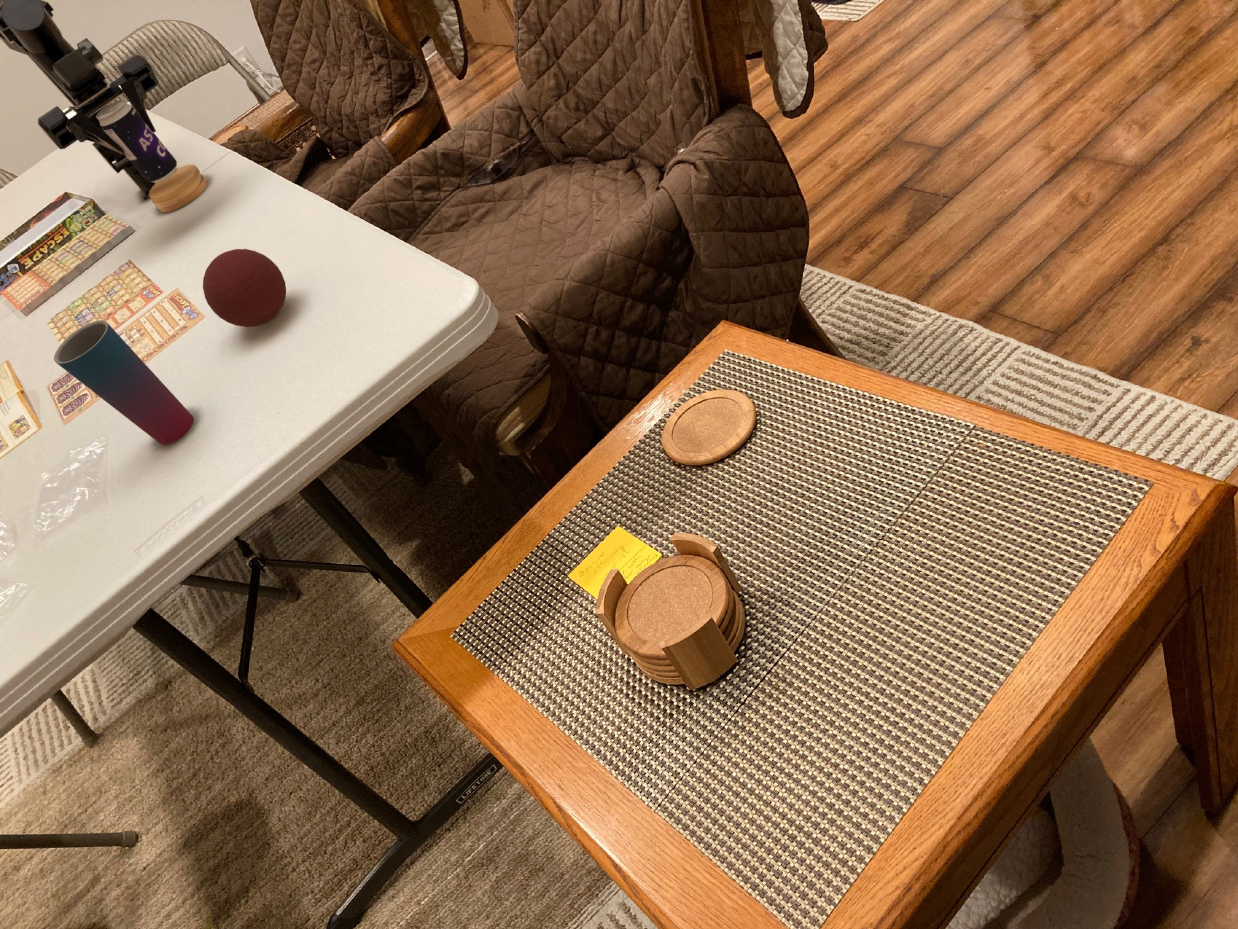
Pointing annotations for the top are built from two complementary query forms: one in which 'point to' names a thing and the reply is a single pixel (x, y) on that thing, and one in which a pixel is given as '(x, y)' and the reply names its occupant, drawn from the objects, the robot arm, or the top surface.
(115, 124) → the beverage can
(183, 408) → the cup
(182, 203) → the coaster pile
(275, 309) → the decorative ball
